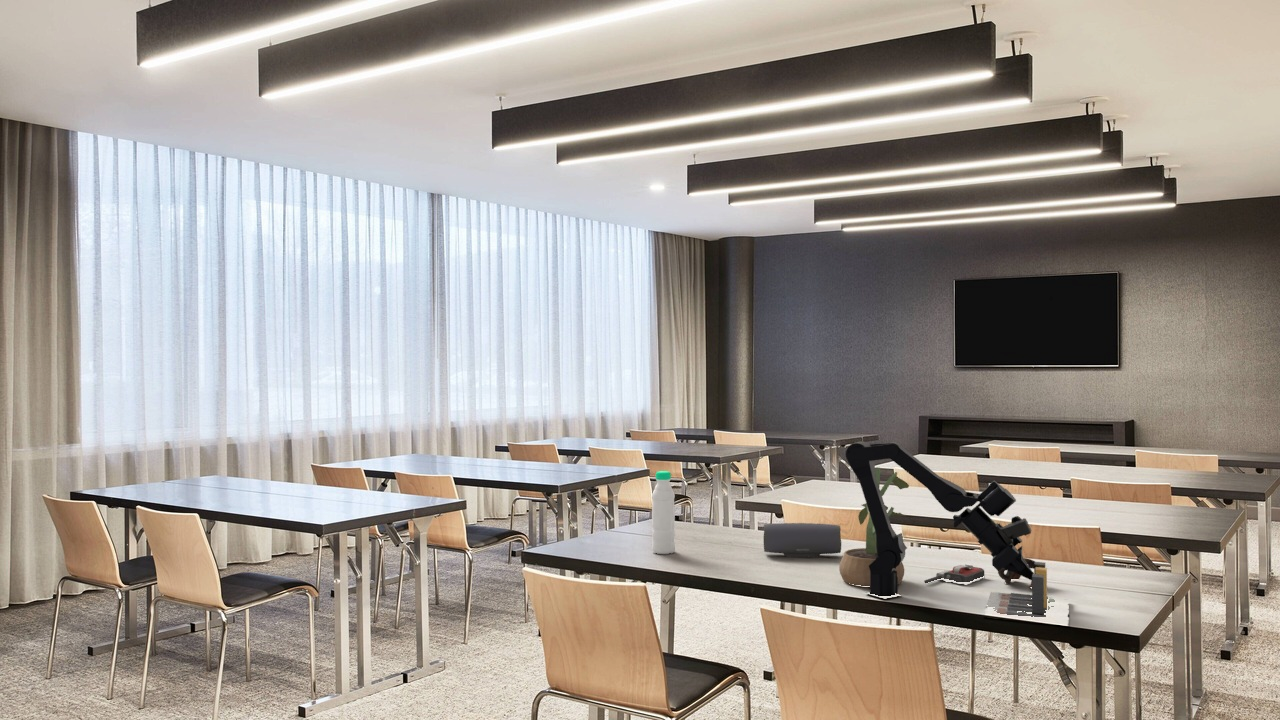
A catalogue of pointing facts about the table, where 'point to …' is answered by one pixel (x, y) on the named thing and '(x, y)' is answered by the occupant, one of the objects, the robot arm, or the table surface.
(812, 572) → the table surface
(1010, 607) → the grey ribbed panel
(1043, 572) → the tan wooden tall block
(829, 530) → the bluetooth speaker
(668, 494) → the water bottle
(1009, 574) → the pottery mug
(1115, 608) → the table surface
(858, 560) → the potted plant
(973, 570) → the walkie-talkie
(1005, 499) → the robot arm
